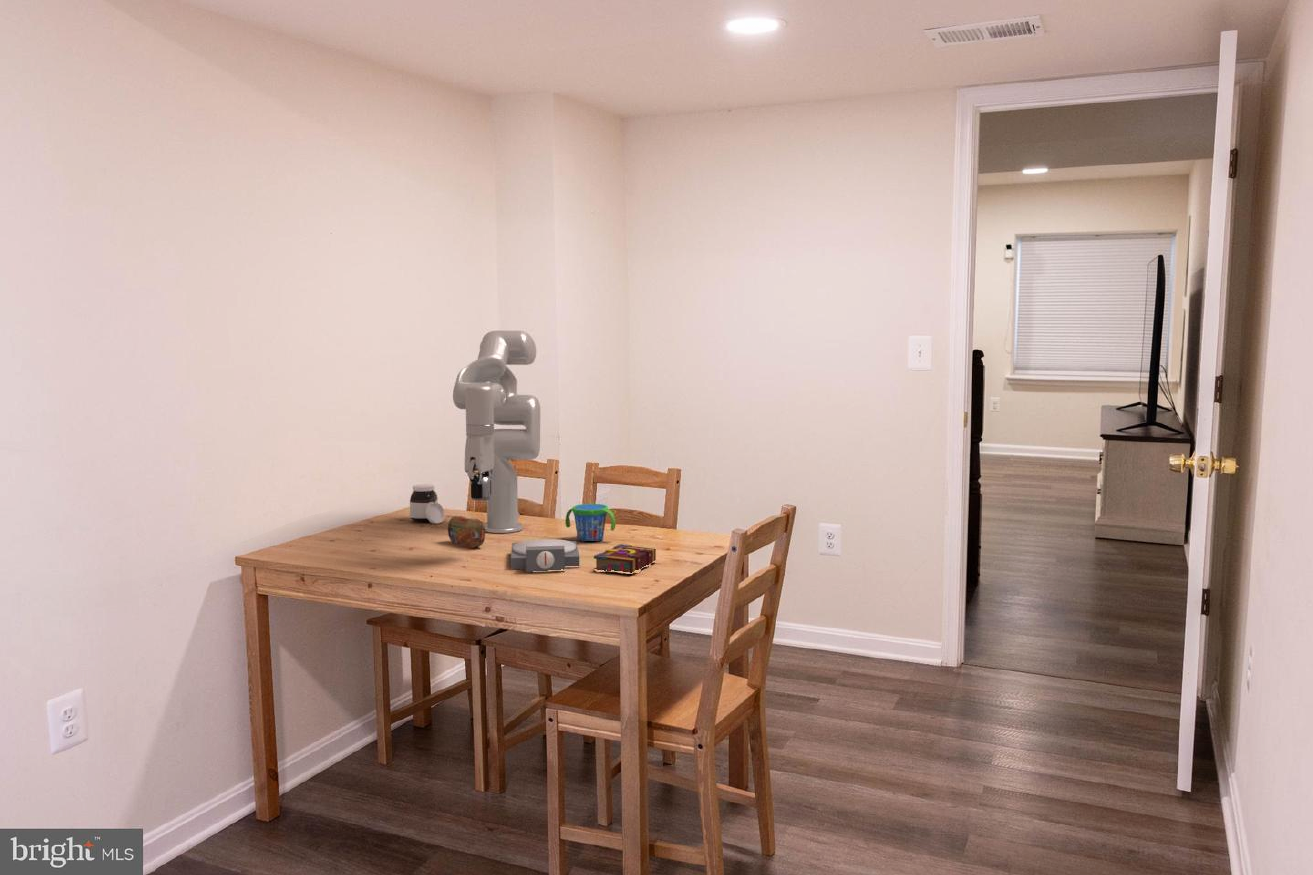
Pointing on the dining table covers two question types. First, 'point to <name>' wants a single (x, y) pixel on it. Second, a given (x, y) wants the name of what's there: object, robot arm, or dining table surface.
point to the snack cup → (590, 521)
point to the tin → (466, 531)
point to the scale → (544, 555)
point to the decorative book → (625, 558)
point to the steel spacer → (485, 488)
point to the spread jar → (425, 505)
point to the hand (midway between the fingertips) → (481, 495)
